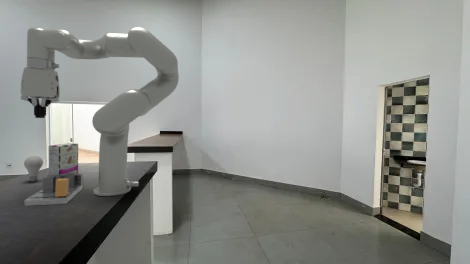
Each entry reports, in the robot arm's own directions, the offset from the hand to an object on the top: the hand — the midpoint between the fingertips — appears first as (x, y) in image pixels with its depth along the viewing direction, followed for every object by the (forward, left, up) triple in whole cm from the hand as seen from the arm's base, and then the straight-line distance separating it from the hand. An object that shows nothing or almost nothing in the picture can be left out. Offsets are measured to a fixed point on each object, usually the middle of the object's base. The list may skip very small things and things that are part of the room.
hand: (40, 117), depth 84 cm
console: (-7, +5, -27) cm, 28 cm away
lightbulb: (+9, -19, -27) cm, 34 cm away
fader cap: (-11, +11, -25) cm, 29 cm away
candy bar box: (-3, -15, -27) cm, 31 cm away
